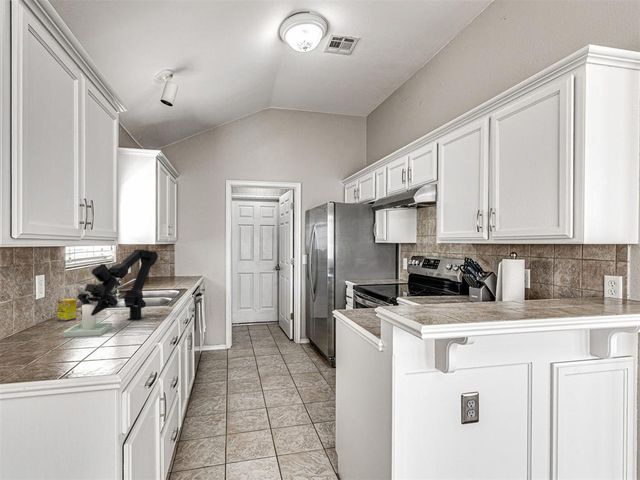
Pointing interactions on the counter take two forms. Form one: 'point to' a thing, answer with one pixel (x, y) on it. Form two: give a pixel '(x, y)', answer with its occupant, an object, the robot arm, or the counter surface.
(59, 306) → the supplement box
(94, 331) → the tray
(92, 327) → the canister
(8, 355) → the counter surface
